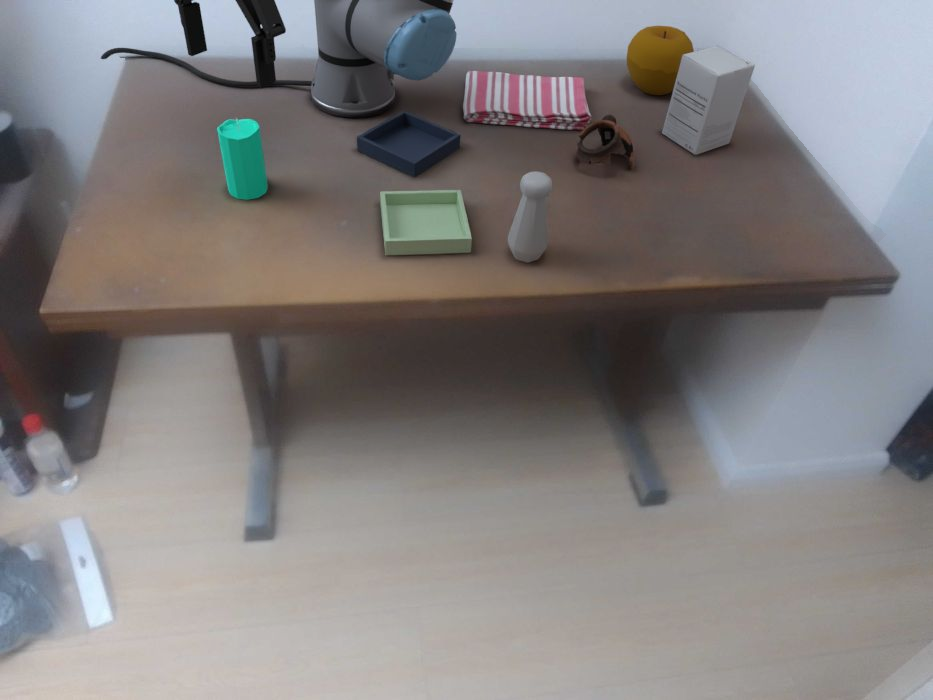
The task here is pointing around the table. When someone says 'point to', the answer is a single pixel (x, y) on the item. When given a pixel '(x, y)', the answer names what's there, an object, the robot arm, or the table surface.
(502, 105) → the dish towel
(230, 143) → the candle
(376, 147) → the dark tray
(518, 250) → the salt shaker
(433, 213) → the pale tray
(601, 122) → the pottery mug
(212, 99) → the table surface
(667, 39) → the apple
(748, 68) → the rectangular carton
